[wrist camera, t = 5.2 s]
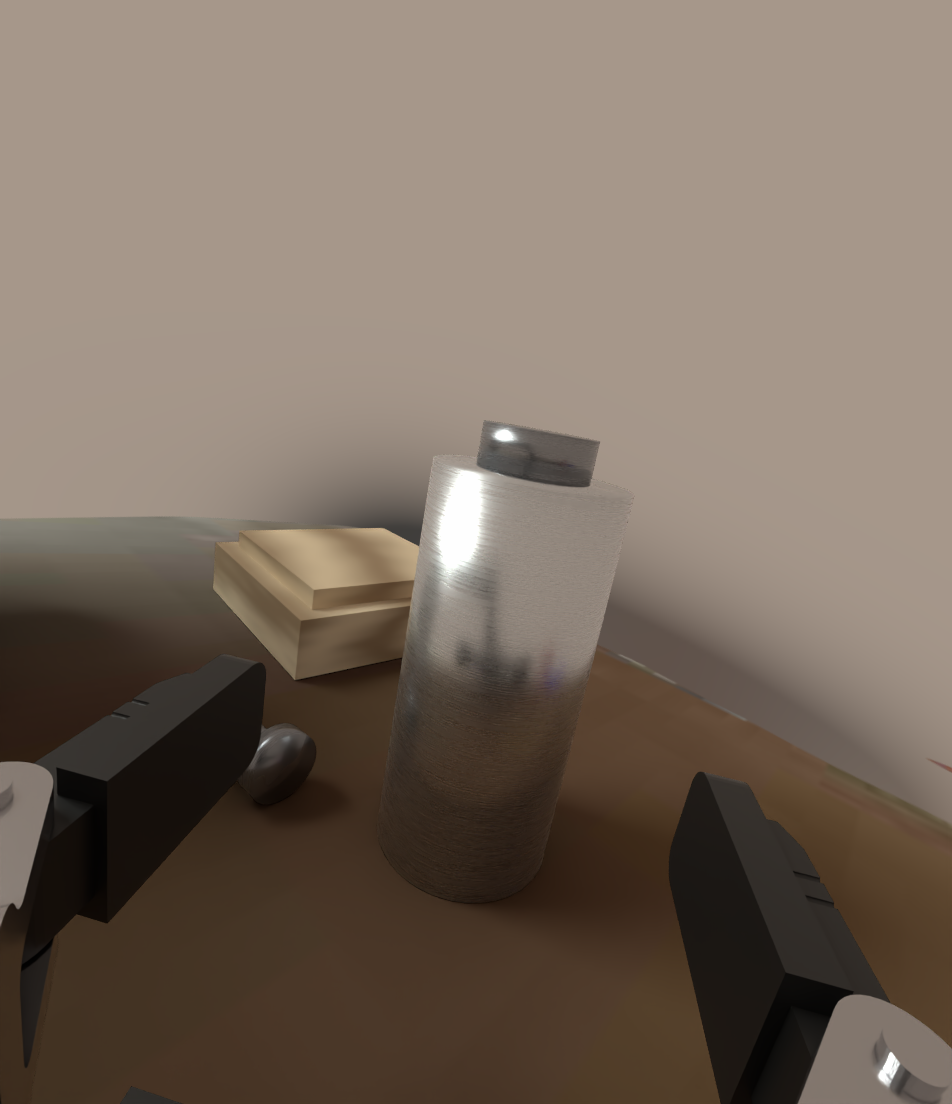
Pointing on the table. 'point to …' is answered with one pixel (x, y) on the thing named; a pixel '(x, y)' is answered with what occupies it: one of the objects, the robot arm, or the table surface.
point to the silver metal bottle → (497, 658)
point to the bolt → (279, 763)
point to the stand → (320, 594)
